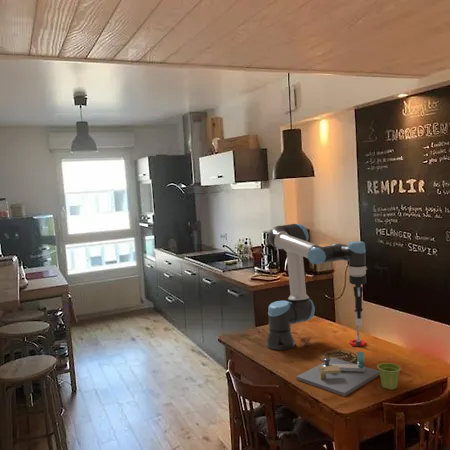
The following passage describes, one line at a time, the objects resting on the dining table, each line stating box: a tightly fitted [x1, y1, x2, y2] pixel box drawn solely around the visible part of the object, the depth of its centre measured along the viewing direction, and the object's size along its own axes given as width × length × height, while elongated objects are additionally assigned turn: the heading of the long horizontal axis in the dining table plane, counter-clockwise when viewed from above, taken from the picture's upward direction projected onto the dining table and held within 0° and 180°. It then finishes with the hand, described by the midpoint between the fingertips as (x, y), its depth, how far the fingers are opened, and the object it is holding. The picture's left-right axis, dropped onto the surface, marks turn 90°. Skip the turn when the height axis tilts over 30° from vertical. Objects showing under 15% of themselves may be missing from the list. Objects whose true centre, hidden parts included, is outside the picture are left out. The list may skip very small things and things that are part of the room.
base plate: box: [295, 357, 380, 397], centre depth 213 cm, size 25×29×2 cm
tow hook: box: [348, 325, 366, 347], centre depth 254 cm, size 8×13×9 cm
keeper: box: [318, 366, 341, 380], centre depth 209 cm, size 5×8×4 cm, turn 93°
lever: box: [320, 351, 365, 372], centre depth 216 cm, size 19×5×8 cm, turn 78°
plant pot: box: [376, 362, 402, 390], centre depth 201 cm, size 9×9×9 cm
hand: (359, 324), depth 222 cm, fingers closed
